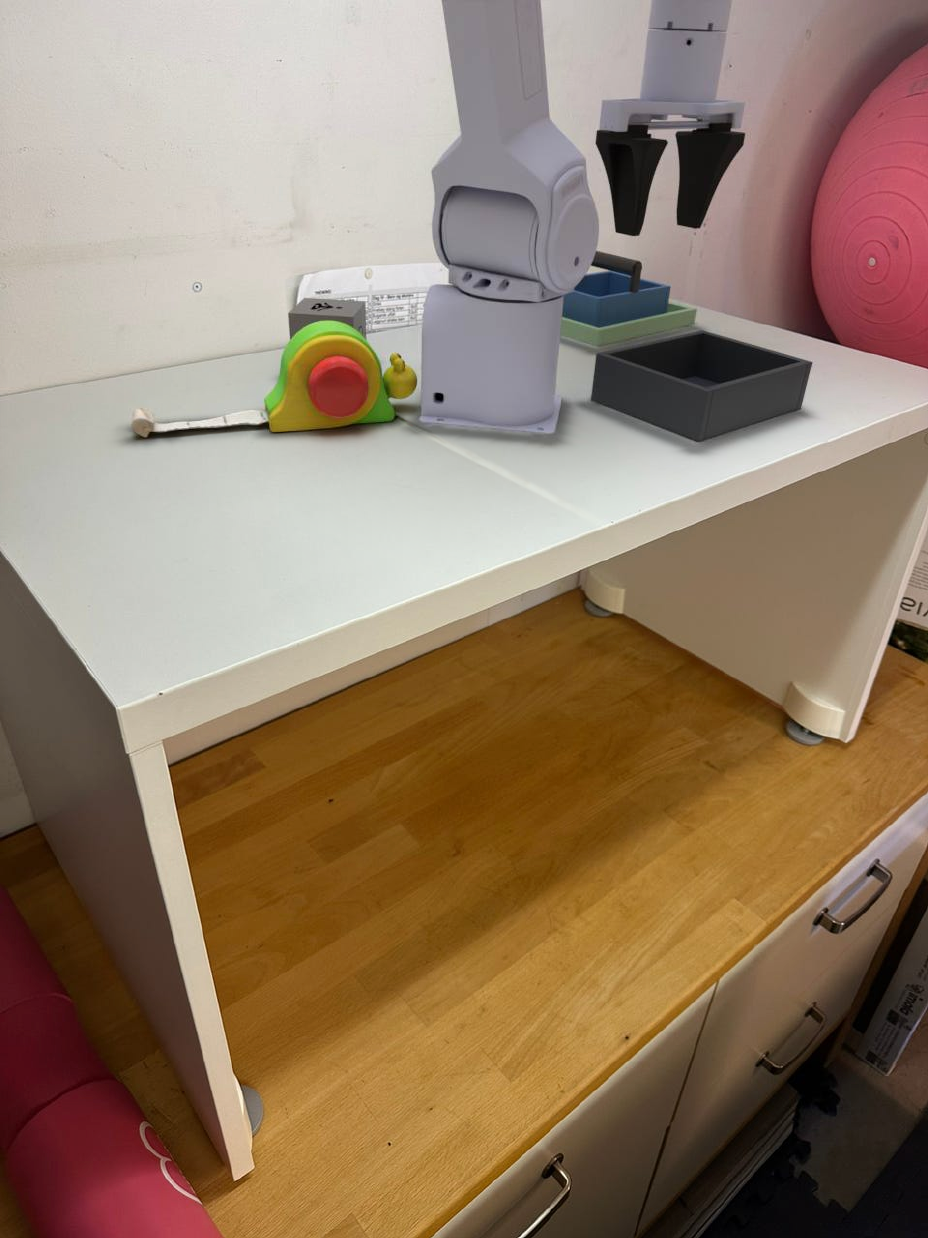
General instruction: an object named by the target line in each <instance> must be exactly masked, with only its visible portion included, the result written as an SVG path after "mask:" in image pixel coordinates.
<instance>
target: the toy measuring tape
mask: <svg viewBox="0 0 928 1238" xmlns="http://www.w3.org/2000/svg"><path fill="white" fill-rule="evenodd" d="M389 362H390V366H389V367H388V368H386V370H385V371H384V372H383V369H382V364H381V361H380V359H379V357H378V355H377V353H376V351H375V350H374V348H373V347H372V346H371V344H370V343H369V341H368V340H367V338H366V339H365V338H364V337H363V336H362V335H361V334H360V333H359V332H358V331H357V330H356V329H354V328H353V327H351V326H349V325H347V324H344V323H341V322H337V321H319V322H315V323H312V324H309V325H307V326H305V327H304V328H302V329H301V330H300V331H298V332H297V333H296V334H295V335H294V336H293V337H292V338H291V339H290V338H289V341H288V342H287V343H286V345H285V347H284V349H283V352H282V355H281V360H280V368H279V375H278V379H277V381H276V383H275V385H274V387H273V388H272V389H271V391H270V392H269V393H268V394H267V395H266V396H264V400H263V403H264V410H262V409H259V410H257V409H247V410H242V411H237V412H233V413H230V414H226V415H222V416H218V417H213V418H209V419H208V418H207V419H203V420H195V421H174V422H169V423H168V422H167V423H160V422H157V421H155V413H154V412H153V411H151V410H149V409H147V408H145V407H139V408H136V409H135V410H134V411H133V413H132V419H131V428H132V430H133V431H134V433H135V434H137V435H138V436H142V437H143V438H147V437H148V436H149V434H150V433H151V432H154V433H167V432H171V431H172V432H173V431H178V430H189V429H216V428H218V429H219V428H224V427H233V426H241V425H242V426H244V425H248V426H249V425H251V426H260V425H262V424H264V423H268V425H269V430H270V431H271V432H272V433H281V432H295V431H308V430H322V429H332V428H341V427H346V426H349V425H353V424H370V423H384V422H385V423H387V422H391V421H393V420H394V418H395V416H396V415H395V413H396V412H395V409H394V406H393V405H392V403H391V401H390V399H394V400H404V399H406V398H407V399H408V398H409V397H410V396H412V395H413V394H414V392H415V391H416V389H417V386H418V375H417V373H416V371H415V370H414V369H413V368H412V367H411V366H410V365H407V364H406V362H405V361H404V359H403V358H402V355H401V354H399V352H393V353H391V354H390V356H389Z"/></svg>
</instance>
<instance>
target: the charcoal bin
mask: <svg viewBox="0 0 928 1238" xmlns="http://www.w3.org/2000/svg"><path fill="white" fill-rule="evenodd" d="M813 364H814V363H813V361H811V360H807V359H804V358H801V357H797V356H793V355H790V354H786V353H783V352H779V351H776V350H773V349H768V348H766V347H762V346H759V345H755V344H752V343H748V342H745V341H741V340H738V339H734V338H731V337H728V336H724V335H721V334H718V333H714V332H711V331H707V330H703V329H699V330H696V331H692V332H686V333H683V334H678V335H674V336H673V335H672V336H669V337H665V338H660V339H659V338H658V339H656V340H655V339H654V340H650V341H646V342H641V343H637V344H632V345H629V346H623V347H618V348H614V349H610V350H605V351H602V352H596V354H595V361H594V369H593V370H594V371H593V377H592V386H591V387H592V388H591V395H590V402H591V401H592V402H593V403H596V404H598V405H602V406H604V407H607V408H609V409H611V410H614V411H616V412H618V413H621V414H624V415H627V416H629V417H632V418H635V419H637V420H638V421H639V420H640V421H642V422H645V423H647V424H650V425H652V426H655V427H657V428H660V429H663V430H664V431H667V432H670V433H673V434H675V435H677V436H680V437H682V438H686V439H688V440H691V441H693V442H695V443H701V442H704V441H707V440H710V439H712V438H717V437H720V436H723V435H725V434H726V435H727V434H729V433H733V432H735V431H738V430H741V429H744V428H748V427H750V426H753V425H757V424H760V423H763V422H766V421H768V420H771V419H774V418H778V417H780V416H784V415H786V414H787V415H788V414H790V413H793V412H796V411H799V410H801V409H802V407H803V406H802V405H803V402H804V400H805V399H804V398H805V395H806V391H807V386H808V383H809V379H810V375H811V371H812V366H813Z"/></svg>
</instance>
